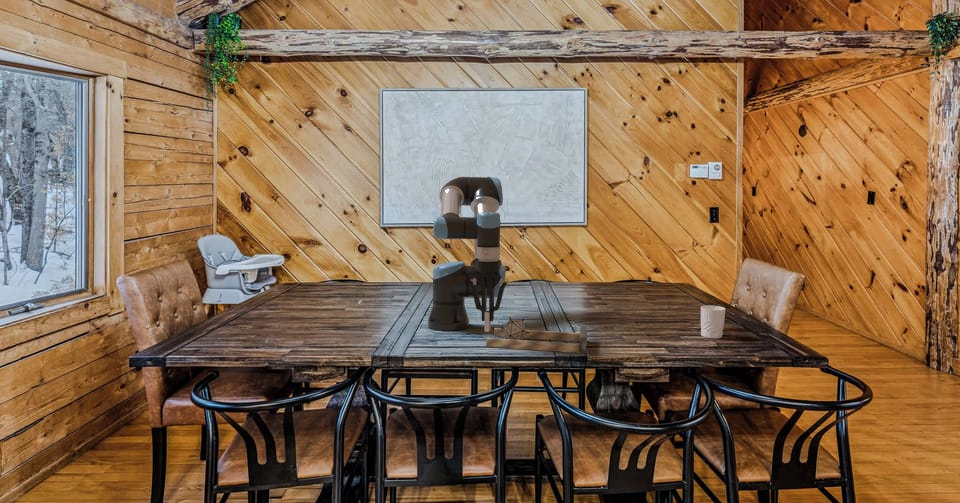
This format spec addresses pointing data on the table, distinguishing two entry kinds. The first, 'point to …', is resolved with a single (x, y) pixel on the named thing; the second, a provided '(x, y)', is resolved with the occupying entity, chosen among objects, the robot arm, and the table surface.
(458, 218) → the robot arm
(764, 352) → the table surface
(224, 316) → the table surface
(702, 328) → the white cup
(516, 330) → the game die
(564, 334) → the guide channel
